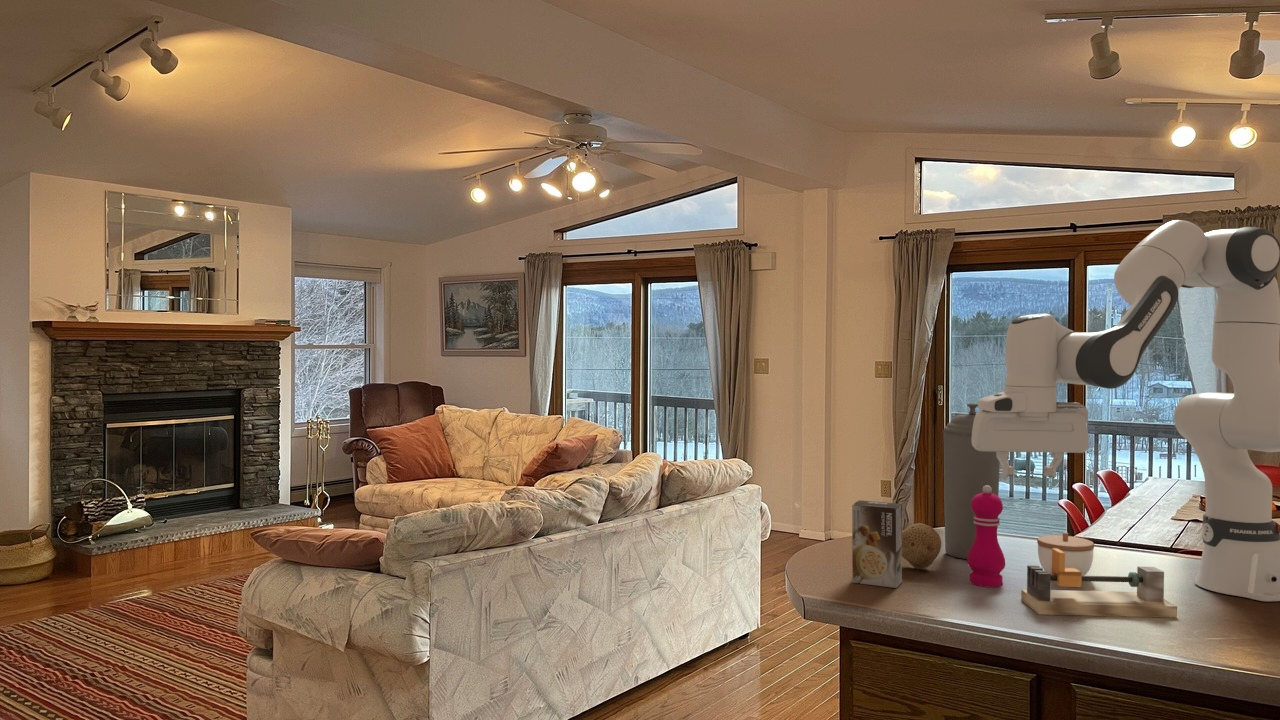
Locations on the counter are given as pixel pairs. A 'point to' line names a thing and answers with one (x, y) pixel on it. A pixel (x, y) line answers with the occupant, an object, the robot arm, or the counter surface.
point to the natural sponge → (920, 545)
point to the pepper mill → (986, 541)
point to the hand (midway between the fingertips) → (1028, 476)
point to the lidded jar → (1066, 551)
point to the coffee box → (877, 543)
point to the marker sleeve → (1064, 571)
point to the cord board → (1100, 595)
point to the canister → (964, 482)
